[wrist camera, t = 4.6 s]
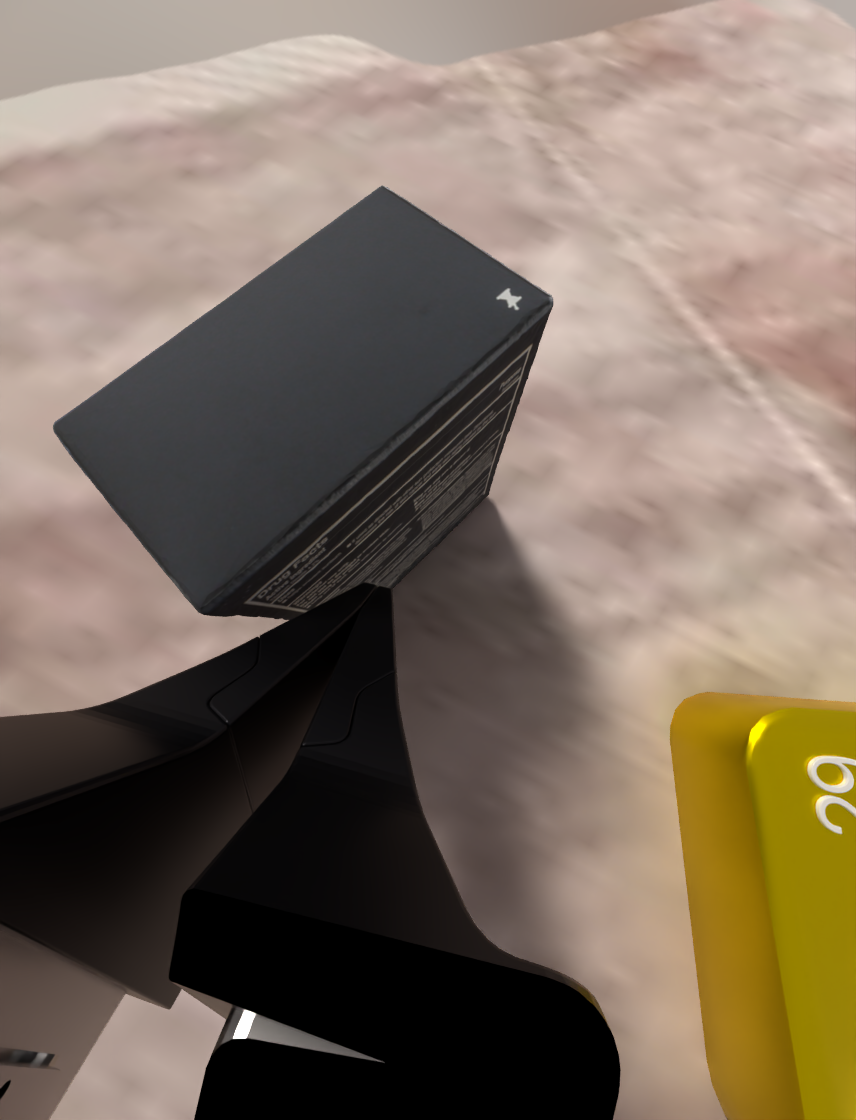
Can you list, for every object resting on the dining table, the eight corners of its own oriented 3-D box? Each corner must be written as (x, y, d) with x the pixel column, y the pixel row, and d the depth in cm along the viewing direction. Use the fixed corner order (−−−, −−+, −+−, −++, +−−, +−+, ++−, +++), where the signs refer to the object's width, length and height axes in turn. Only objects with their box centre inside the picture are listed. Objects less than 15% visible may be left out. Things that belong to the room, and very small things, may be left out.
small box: (409, 421, 19) (381, 162, 8) (492, 493, 18) (576, 295, 7) (268, 545, 17) (21, 411, 7) (349, 634, 16) (201, 631, 6)
